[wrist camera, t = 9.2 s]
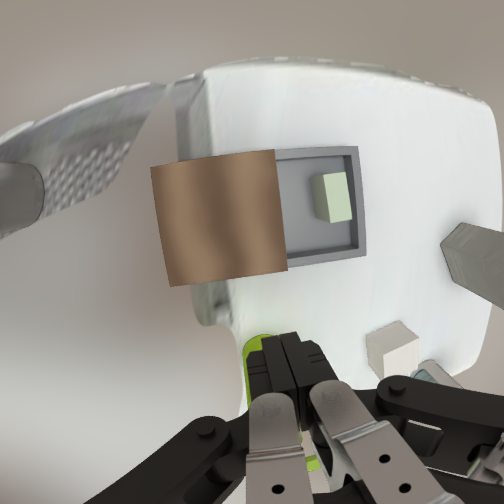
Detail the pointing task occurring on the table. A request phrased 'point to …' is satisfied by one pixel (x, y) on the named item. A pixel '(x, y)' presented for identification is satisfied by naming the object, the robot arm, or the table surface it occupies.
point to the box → (303, 209)
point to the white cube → (392, 350)
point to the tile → (331, 197)
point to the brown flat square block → (220, 217)
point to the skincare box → (477, 261)
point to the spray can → (434, 374)
